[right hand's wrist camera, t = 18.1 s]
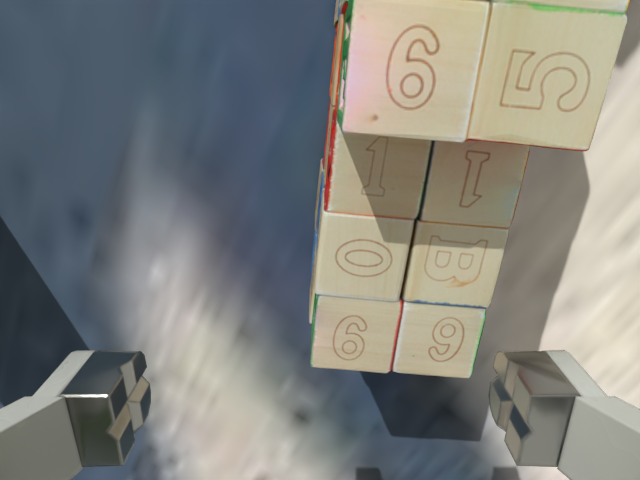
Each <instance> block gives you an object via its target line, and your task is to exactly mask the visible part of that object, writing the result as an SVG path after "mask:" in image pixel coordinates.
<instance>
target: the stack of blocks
mask: <svg viewBox="0 0 640 480" xmlns="http://www.w3.org/2000/svg"><path fill="white" fill-rule="evenodd" d="M629 3H630V0H336V8H335V18H334V27H335V28H336V36H335V43H334V54H333V63H332V73H331V82H330V91H329V95H330V104H329V112H328V122H327V132H326V142H325V151H324V158H322V159H321V163H320V173H319V182H318V191H317V201H316V210H315V231H314V240H313V251H312V261H311V286H310V303H309V322H310V323H311V324H312V328H311V360H310V364H311V367H319V368H331V369H344V370H356V371H366V372H377V373H388V372H390V371H393V372H398V373H408V374H419V375H432V376H444V377H457V378H470V376H471V374H472V372H473V367H474V363H475V359H476V355H477V350H478V346H479V342H480V338H481V335H482V331H483V327H484V321H485V318H486V308H487V307H489V306H490V304H491V301H492V297H493V293H494V289H495V285H496V281H497V278H498V274H499V270H500V265H501V261H502V257H503V253H504V249H505V246H506V242H507V238H508V234H509V227H510V225H511V223H512V220H513V218H514V213H515V209H516V206H517V202H518V198H519V194H520V189H521V185H522V180H523V176H524V172H525V168H526V164H527V160H528V155H529V150H530V146H537V147H545V148H554V149H565V150H574V151H587V150H589V148H590V145H591V142H592V139H593V136H594V132H595V129H596V126H597V122H598V119H599V115H600V112H601V109H602V105H603V102H604V99H605V95H606V91H607V87H608V83H609V80H610V77H611V74H612V71H613V68H614V65H615V62H616V58H617V55H618V52H619V48H620V45H621V41H622V38H623V34H624V31H625V28H626V24H627V15H626V11H627V9H628V6H629Z"/></svg>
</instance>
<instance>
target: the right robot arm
mask: <svg viewBox="0 0 640 480" xmlns="http://www.w3.org/2000/svg"><path fill="white" fill-rule="evenodd" d="M146 368H147V365H146V361H145V356H144V354H143V353H142V352H141V351H102V350H99V351H96V350H77V351H74V352H71V353H70V354H69V355H68V356H67V358H66V359H65V360H64V361H63V362H62V363H61V364H60V365H59V367H58V368H57V369H56V370H55V371H54V372H53V373H52V374H51V376H50V377H49V378H48V379H47V380H46V381H45V382H44V384H43V385H42V386H41V387H40V388H39V389H38V390H37V391H36V393H35V394H34V395H33V396H32V397H23V398H21V399H19V400H17V401H15V402H13V403H11V404H9V405H7V406H5V407H3V408H1V409H0V480H70V479H71V478H72V477H74V476H75V475H76V474H77V473H78V472H80V471H81V470H82V467H93V466H123V465H124V463H125V461H126V459H127V457H128V455H129V453H130V451H131V449H132V447H133V445H134V443H135V435H134V432H135V431H136V430H137V429H139V428H140V427H142V426H143V425H144V423H145V420H146V418H147V416H148V413H149V408H150V403H151V390H150V383H149V382H148V381H147V380H146V379H145V378H144V377H143V376H142V375H143V373H144V371H145V369H146ZM493 368H494V369H495V371H496V373H497V375H498V376H497V377H496V378H495V379H494V380H493V381H492V382H491V383H490V391H489V402H490V409H491V413H492V416H493V418H494V421H495V423H496V425H497V426H498V427H500V428H501V429H503V430H504V431H505V432H506V435H505V443H506V445H507V447H508V449H509V451H510V453H511V455H512V457H513V459H514V461H515V463H516V465H517V466H546V467H558V468H557V469H558V470H559V471H561V472H562V473H563V474H564V475H565V476H567V477H568V478H569V479H570V480H640V409H639V408H637V407H635V406H633V405H631V404H629V403H627V402H625V401H623V400H621V399H619V398H617V397H608V396H607V395H606V394H605V393H604V391H603V390H602V389H601V388H600V387H599V386H598V385H597V384H596V382H595V381H594V380H593V379H592V378H591V377H590V376H589V375H588V373H587V372H586V371H585V370H584V369H583V368H582V367H581V365H580V364H579V363H578V362H577V361H576V360H575V359H574V358H573V356H572V355H571V354H570V353H569V352H567V351H565V350H550V351H524V352H497V354H496V356H495V360H494V365H493Z"/></svg>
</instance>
